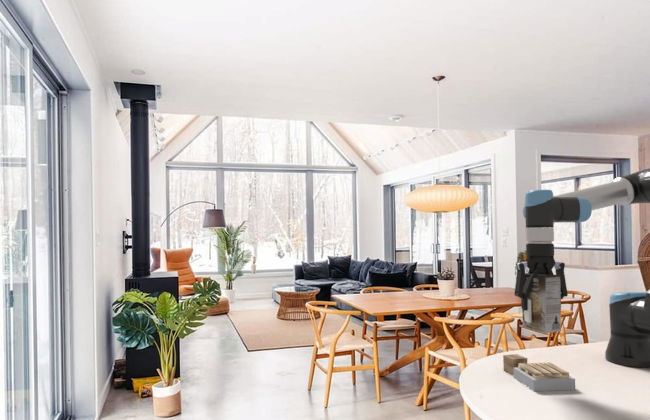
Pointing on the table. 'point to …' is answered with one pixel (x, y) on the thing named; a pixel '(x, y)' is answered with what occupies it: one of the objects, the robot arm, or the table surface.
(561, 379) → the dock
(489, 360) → the table surface
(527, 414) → the table surface
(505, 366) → the light brown cube
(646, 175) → the robot arm
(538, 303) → the coffee box
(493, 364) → the table surface
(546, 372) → the pallet
